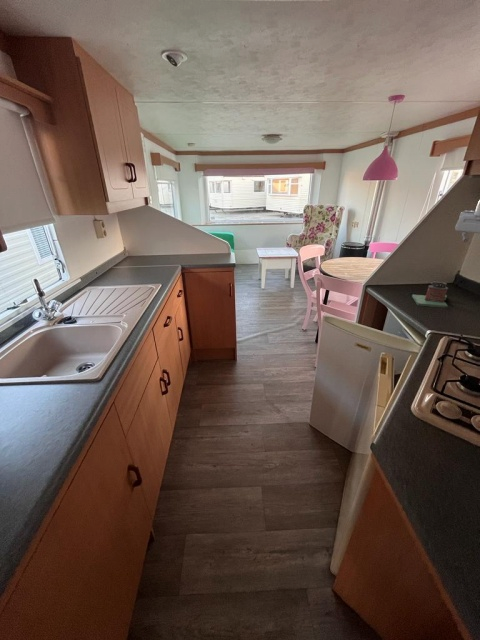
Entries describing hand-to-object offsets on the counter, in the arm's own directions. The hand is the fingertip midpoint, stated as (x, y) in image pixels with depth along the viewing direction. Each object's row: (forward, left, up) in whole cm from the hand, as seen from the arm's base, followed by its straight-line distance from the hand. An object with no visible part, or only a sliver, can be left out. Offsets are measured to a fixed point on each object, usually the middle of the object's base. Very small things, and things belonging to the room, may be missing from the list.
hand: (476, 243), depth 123 cm
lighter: (+11, +5, -28) cm, 31 cm away
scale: (+12, +4, -29) cm, 32 cm away
